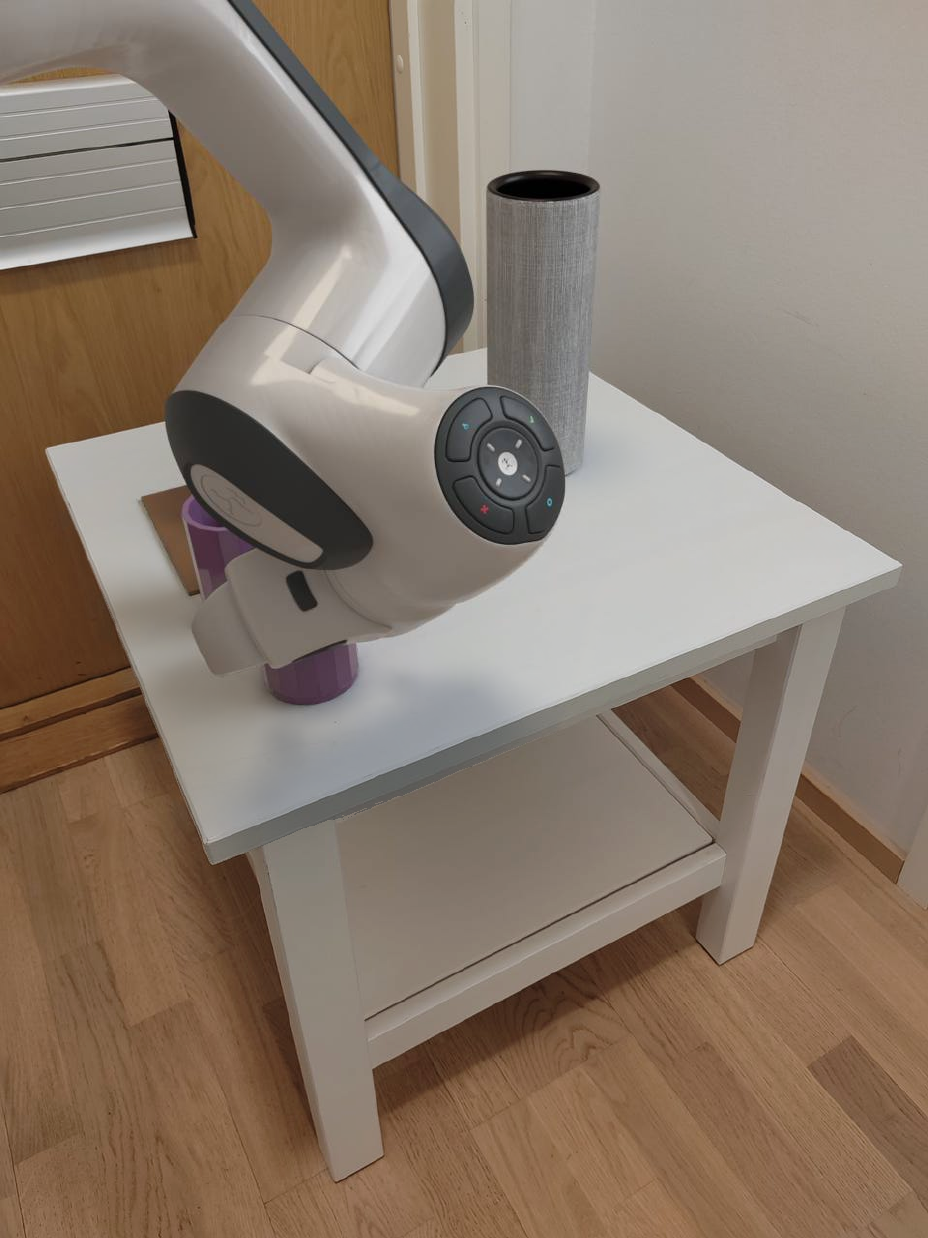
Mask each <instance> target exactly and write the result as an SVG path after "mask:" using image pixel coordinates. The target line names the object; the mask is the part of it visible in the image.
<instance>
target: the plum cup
mask: <svg viewBox="0 0 928 1238" xmlns="http://www.w3.org/2000/svg"><path fill="white" fill-rule="evenodd" d="M259 667H260V671H261V676H262V679H263V681H264V685H265V686H266V689H267V690H268V693H270V694H271V695H272V696H274V698H277V699H278V700H280V701H282V702H285V703H289V704H293V705H300V706H301V705H316V704H321V703H325V702H328V701H332V700H333V699H336V698H338V697H339V696H341V695H343V694H345V692H347V691H348V690H349V689H350V688H351V687H352V686H353V685H354V683H355V682H356V681H357V678H358V675H359V672H360V664H359V653H358V643H354V644H348V645H343V646H340V647H338V648H336V649H332V650H329V651H326V652H323V653H320V654H317V655H314V656H312V657H309V658H306V659H304V660H301V661H299V662H297V663H294V664H293V663H290V664H288V665H286V666H283V667H281V668H277V669H275V668H271V667H270V665H269V664H268V663H266V664H263V665H260V666H259Z"/></svg>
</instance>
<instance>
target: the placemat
mask: <svg viewBox="0 0 928 1238" xmlns="http://www.w3.org/2000/svg"><path fill="white" fill-rule="evenodd" d="M191 495H192V493H191V492H190V490H189V488H188V486H187V484H185V485H180V486H177V487H172V488H168V489H165V490H162V491H157V492H153V493H150V494H146V495H142V496H140V499H141V501H142V504H143V505H144V507H145V510H146V511H147V514H148V516H149V518H150V520H151V522H152V523H153V526H154V528H155V530H156V532H157V534H158V535H159V538H160V540H161V542H162V544H163V546H164V548H165V550H166V552H167V555H169V559H170V560H171V563H172V564H173V566H174V569H175V570H176V572H177V574H178V576H179V579H180V580H181V583H182V584H183V586H184V589H185V590H186V593H187V595H188V596H193V595H196V594H199V593H200V589H199V585H198V580H197V576H196V572H195V568H194V564H193V560H192V556H191V552H190V548H189V543H188V539H187V535H186V531H185V527H184V523H183V519H182V515H181V513H182V507H183V504H184V502H185V501H186V500H187V499H188V498H189V497H190V496H191Z"/></svg>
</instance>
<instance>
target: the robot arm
mask: <svg viewBox="0 0 928 1238" xmlns="http://www.w3.org/2000/svg"><path fill="white" fill-rule="evenodd" d="M71 68H72V69H73V68H74V69H75V68H92V69H100V70H103V71H109V72H112V73H114V74H117V75H120V76H123V77H125V78H127V79H129V80H130V81H132V82H135V83H136V84H138V85H139V86H140V87H142V88H143V89H144V90H146V91H147V92H149V93H150V94H151V95H153V96H154V97H155V98H156V99H157V100H158V101H159V102H161V104H162V105H163V106H164V107H165V108H166V109H167V110H168V111H169V112H170V113H171V114H172V115H173V116H174V117H175V119H177V121H179V122H180V124H181V125H183V127H184V128H185V129H186V130H187V131H188V132H189V133H190V134H191V135H192V136H193V137H194V138H195V140H197V142H199V143H200V144H201V145H202V147H203V148H204V149H206V151H207V152H208V153H209V154H210V156H212V157H213V158H214V159H215V160H216V161H217V162H218V163H219V164H220V165H221V167H223V169H224V170H226V172H228V173H229V175H230V176H231V177H232V178H233V179H234V180H235V181H236V182H237V183H238V184H239V185H240V186H241V187H242V188H243V189H244V190H245V191H246V193H247V194H248V195H250V196H251V197H252V199H254V201H255V202H256V203H257V204H258V205H259V206H260V207H261V208H262V209H263V210H264V212H265V214H266V215H267V217H268V220H269V224H270V228H271V239H272V240H271V248H270V254H269V258H268V260H267V262H266V264H265V265H264V266H263V267H262V269H261V271H259V273H258V275H257V276H256V277H255V278H254V280H253V282H252V283H251V284H250V285H249V287H248V288H247V289H246V291H245V293H244V294H243V295H242V297H241V298H240V299H239V300H238V302H237V304H236V305H235V306H234V308H233V309H232V311H231V312H230V313H229V314H228V316H227V317H226V319H225V320H224V321H222V322H221V323H220V324H219V325H218V327H216V330H215V331H214V332H213V333H212V335H211V336H210V338H209V339H208V341H207V342H206V343H205V345H204V346H203V348H202V349H201V350H200V351H199V353H198V354H197V356H196V357H195V359H194V360H193V362H192V363H191V364H190V366H189V367H188V369H187V371H186V372H185V373H184V374H183V376H182V378H181V379H180V381H179V382H178V383H177V385H176V387H175V388H174V390H173V391H172V392H171V393H170V395H168V397H167V398H166V399H165V402H164V426H165V431H166V436H167V439H168V440H167V441H168V444H169V446H170V450H171V453H172V455H173V458H174V460H175V463H176V465H177V467H178V470H179V472H180V474H181V477H182V478H183V481H184V483H185V485H187V486H188V488H189V490H190V492H191V493H192V495H193V496H194V498H195V499H196V501H197V502H198V503H199V504H200V505H201V507H202V508H203V509H204V510H205V511H206V512H207V513H208V514H209V515H210V516H211V517H212V518H214V519H215V520H216V521H217V522H218V523H220V524H221V525H222V526H224V527H225V528H226V529H228V530H229V531H230V532H232V533H233V534H235V535H236V536H238V537H239V538H241V539H242V540H244V541H245V542H247V543H248V544H250V545H252V546H254V548H252V549H250V550H249V551H247V552H246V553H244V554H242V555H240V556H238V557H236V558H234V559H233V560H232V561H230V562H229V563H228V565H227V566H226V567H225V574H226V577H227V580H228V581H227V582H225V583H224V584H222V585H221V586H220V587H218V588H217V589H216V590H215V591H214V592H213V593H212V594H211V595H210V596H209V597H208V598H207V599H206V601H205V602H204V603H203V602H202V605H201V606H200V607H199V608H198V610H197V612H196V613H195V615H194V617H193V619H192V621H191V625H190V627H191V633H192V636H193V638H194V640H195V642H196V645H197V648H198V649H199V652H200V654H201V656H202V658H203V661H204V662H205V663H206V665H207V667H208V669H209V670H210V672H211V673H212V674H213V675H214V676H215V677H218V678H223V677H228V676H231V675H234V674H238V673H242V672H244V671H248V670H250V669H254V668H257V667H260V665H263V664H266V663H268V664H269V665H270V667H271V668H275V669H277V668H281V667H283V666H286V665H288V664H290V663H293V664H294V663H297V662H299V661H301V660H304V659H306V658H309V657H312V656H314V655H317V654H320V653H323V652H326V651H329V650H332V649H336V648H338V647H340V646H343V645H348V644H354V643H356V644H362V643H367V642H373V641H377V640H378V641H379V640H381V639H389V638H395V637H399V636H403V635H405V634H408V633H410V632H412V631H414V630H416V629H418V628H419V627H421V626H423V625H426V624H427V623H430V622H431V621H433V620H435V619H436V618H439V617H440V616H443V615H444V614H446V613H447V612H449V611H451V610H452V609H453V608H454V607H455V606H456V605H458V604H461V603H465V602H468V601H470V600H472V599H474V598H476V597H478V596H480V595H481V594H484V593H485V592H487V591H489V590H490V589H492V588H494V587H496V586H497V585H499V584H500V583H503V581H505V580H506V579H508V578H509V577H510V576H511V575H513V574H514V573H516V572H517V571H518V570H519V569H520V568H522V567H523V566H524V565H525V564H526V563H527V562H528V561H530V560H531V558H533V557H534V556H535V555H536V554H537V553H538V552H539V551H540V550H541V548H543V547H544V546H545V544H546V542H547V541H548V540H549V538H550V537H551V536H552V534H553V532H554V531H555V528H556V527H557V523H558V522H559V518H560V517H561V512H562V509H563V505H564V501H565V497H566V496H565V495H566V475H565V468H564V462H563V456H562V452H561V449H560V446H559V443H558V440H557V438H556V435H555V433H554V431H553V429H552V427H551V426H550V424H549V422H548V421H547V419H546V418H545V417H544V415H543V414H542V413H541V412H540V411H539V409H538V408H537V407H536V406H535V405H533V404H532V403H531V402H530V401H529V400H527V399H526V398H525V397H523V396H522V395H520V394H518V393H516V392H514V391H512V390H510V389H507V388H504V387H500V386H495V385H487V384H476V385H471V386H465V387H461V388H454V389H429V388H425V387H426V385H427V383H428V381H429V379H430V378H431V377H433V376H434V375H435V373H436V372H437V371H438V369H439V368H440V367H441V365H442V364H443V362H445V360H446V359H447V357H448V356H449V354H450V353H451V352H452V350H454V348H455V346H456V345H457V344H458V342H459V341H460V340H461V339H462V337H463V335H464V334H465V333H466V332H467V330H468V328H469V326H470V324H471V321H472V319H473V315H474V310H475V308H474V307H475V294H474V293H475V292H474V285H473V281H472V277H471V273H470V270H469V266H468V263H467V260H466V258H465V256H464V252H463V251H462V248H461V246H460V244H459V242H458V240H457V238H456V236H455V235H454V233H453V231H452V230H451V228H450V227H449V226H448V224H446V222H445V221H444V220H443V218H442V217H441V216H440V214H438V213H437V212H436V211H435V210H434V209H433V208H432V207H431V206H430V205H429V204H428V203H427V202H426V201H424V199H422V197H420V196H419V195H418V194H417V193H416V192H415V191H413V190H412V188H411V187H409V186H408V185H407V184H406V183H404V182H403V181H402V180H401V179H400V178H398V176H396V175H395V174H394V173H393V171H391V170H390V169H389V168H388V167H387V166H386V165H385V164H384V163H383V162H382V161H381V160H380V158H378V156H377V155H376V154H375V152H374V151H372V149H371V148H370V147H369V146H368V144H367V143H366V142H365V141H364V140H363V138H362V136H361V135H360V134H359V133H358V132H357V131H356V129H355V128H354V127H353V126H352V124H351V123H350V122H349V121H348V119H347V118H346V116H345V115H344V114H343V113H342V112H341V111H340V110H339V108H338V107H337V106H336V104H335V103H334V102H333V100H332V99H331V98H330V96H328V94H327V93H326V92H325V91H324V90H323V88H322V87H321V85H320V84H319V83H318V81H316V79H315V78H314V76H313V75H311V73H310V71H308V69H307V68H306V67H305V65H304V64H303V62H301V61H300V59H299V58H298V57H297V56H296V54H295V53H294V52H293V50H292V49H291V48H290V46H288V44H287V43H286V41H285V40H284V39H283V37H282V36H281V35H280V34H279V33H278V31H276V29H275V28H274V27H273V25H272V24H271V22H270V21H269V20H268V19H267V18H266V17H265V15H264V14H263V12H262V11H261V10H260V9H259V8H258V6H257V5H256V4H255V2H253V0H0V87H1V86H3V85H8V84H11V83H15V82H18V81H21V80H24V79H28V78H31V77H35V76H38V75H42V74H46V73H50V72H55V71H59V70H64V69H71Z"/></svg>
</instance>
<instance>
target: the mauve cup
mask: <svg viewBox="0 0 928 1238" xmlns="http://www.w3.org/2000/svg"><path fill="white" fill-rule="evenodd" d="M181 515H182V519H183V523H184V527H185V531H186V535H187V539H188V543H189V548H190V552H191V556H192V560H193V564H194V568H195V572H196V576H197V580H198V585H199V589H200V592H199V593H200V597H201V600H202V604H203V603H204V602H205V601H206V599H207V598H208V597H209V596H210V595H211V594H212V593H213V592H214V591H215V590H216V589H217V588H218V587H220V586H221V585H222V584H224V583H225V582H227V581H228V580H227V577H226V574H225V567H226V566H227V565H228V563H229V562H230V561H232V560H233V559H234V558H236V557H238V556H240V555H242V554H244V553H246V552H247V551H249V550H250V549H252V548H254V546H252V545H250V544H248V543H247V542H245V541H244V540H242V539H241V538H239V537H238V536H236V535H235V534H233V533H232V532H230V531H229V530H228V529H226V528H225V527H224V526H222V525H221V524H220V523H218V522H217V521H216V520H215V519H214V518H212V517H211V516H210V515H209V514H208V513H207V512H206V511H205V510H204V509H203V508H202V507H201V505H200V504H199V503H198V502H197V501H196V499H195V498H194V496H193V495H191V496H190V497H189V498H188V499H187V500H186V501H185V502H184V504H183V507H182V513H181Z"/></svg>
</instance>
